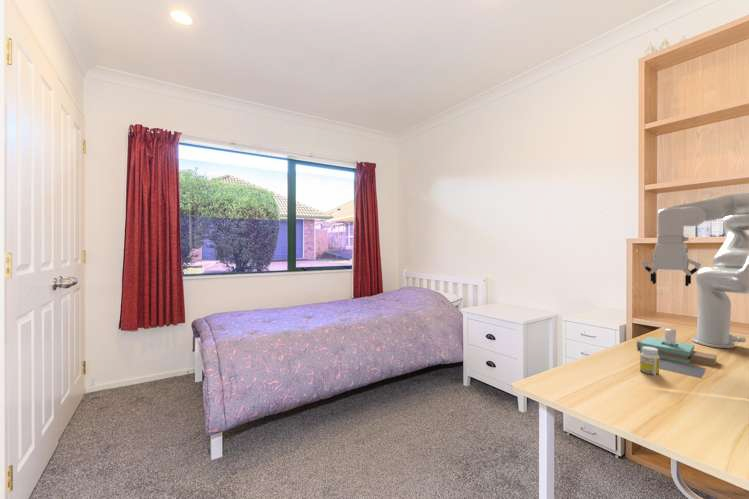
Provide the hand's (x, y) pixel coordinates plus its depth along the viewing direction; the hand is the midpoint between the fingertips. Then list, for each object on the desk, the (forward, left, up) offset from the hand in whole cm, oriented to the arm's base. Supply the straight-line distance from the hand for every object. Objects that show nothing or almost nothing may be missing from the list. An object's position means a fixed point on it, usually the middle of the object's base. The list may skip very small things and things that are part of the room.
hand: (670, 284), depth 133 cm
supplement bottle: (+17, +31, -26) cm, 44 cm away
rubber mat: (+6, +23, -26) cm, 35 cm away
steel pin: (+3, +9, -26) cm, 27 cm away
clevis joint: (+2, +10, -26) cm, 27 cm away
